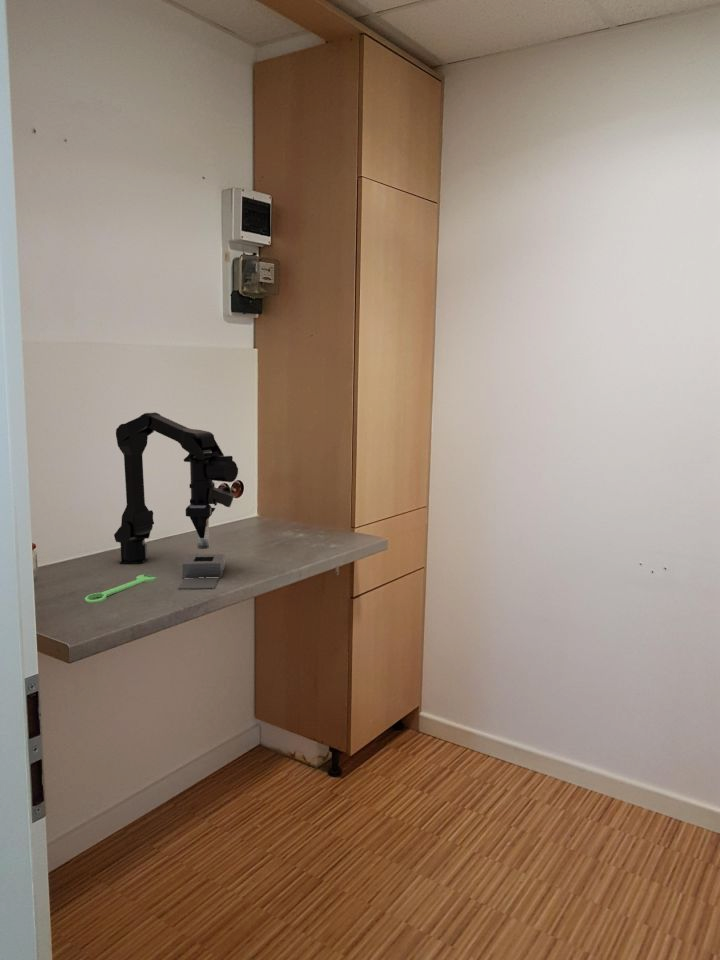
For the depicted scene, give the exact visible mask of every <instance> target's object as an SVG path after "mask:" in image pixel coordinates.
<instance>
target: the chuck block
mask: <svg viewBox="0 0 720 960" xmlns="http://www.w3.org/2000/svg"><path fill="white" fill-rule="evenodd" d="M181 565H182V566H181V567H182V579H183V578H193V579H194V578H199V577H204V578H206V577H221V575H222V576H223V574H224V572H223V570H224V571H225V569H224V568H226V566H225V554H221V553H220V554H218V553H217V554H187V556H186V557H185V559H184V560H183V562H182V564H181ZM222 573H223V574H222ZM221 578H222V577H221Z"/></svg>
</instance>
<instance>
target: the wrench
mask: <svg viewBox="0 0 720 960" xmlns="http://www.w3.org/2000/svg"><path fill="white" fill-rule="evenodd" d="M150 576H151V577H150ZM156 579H157V576H152V575H151V574H139V575H137V576H136V577H135V579H134V580H132V581H129V582H127V583H124V584H121V585H118V586H116V587H113V588H111V589H107V590H105V591H102V592H95V593H91V594H88V595H87V596H86V597H84V601H85V603H88V604H89V603H90V604H97V603H102V602H105V601H107V597H109V596H111V595H114V594H117V593H120V592H123V591H124V590H128V589H130V588H133V587H136V586H137V584H138V585H141V584H142V582H143V583H149V581H151V582H155V581H156ZM154 580H155V581H154Z"/></svg>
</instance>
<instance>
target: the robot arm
mask: <svg viewBox="0 0 720 960" xmlns="http://www.w3.org/2000/svg"><path fill="white" fill-rule="evenodd" d="M154 432H156V433H158V434H160V435H162V436H165V437H166V438H169V439H171V440H173V441H175V442H176V443H178V444H179V445H180V446H181V448H182V449H183V450H184V451H186V452H187V453H188V455H187V456H186V457H185V458H184V459H183V462H184V463H189V465H190V468H189V469H190V483H189V489H190V499H189V505H188V506H187V507H186V508H185V517H189V518H190V521H191V522H192V524H193V526H194V528H195V530H196V534H197V533H198V535H199V537H200V538H204V536H205V530H206V523H207V519H208V518H209V519H210V518H211V516H212V515H213V513H214V512H215V510H216V507H215V506H218V504H219V505H223V506H224V507H226V508H231V506H232V503H233V500H234V497H235V494H234V492H232V488H231V487H230V486H227V485H225V486H224V487H223V488H217V487H215V486H216V485H215V482H226V483H233V482H234V481H235V480H236V479H237V477H238V474H239V467H238V464H237V463H236V461H234V460H233V459H234V458H233V456H232V455H225V454H224V453H223V451H222V449H221V448H220V446H219V445H218V444H219V443H217V441H216V440H215V439H216V438H215V435H214V433H212V432H210V431H207V430H202V429H197V428H196V429H194V428H190V427H189V428H188V427H187V426H185V425H182V424H180V423H178V422H176V421H174V420H172V419H169V418H167V417H165V416H163V415H161V414H160V413H157V412H156V411H154V412H145V413H143V414H141V415H140V416H138V417H136V418H134V419H132V420H130V421H127V422H125V423H121V424H119V425H118V427H117V428H116V429H115V437H116V443H117V447H118V448H119V450H120V452H121V453H122V454H123V460H124V462H123V463H124V464H123V465H124V478H125V479H124V481H125V495H126V497H125V498H126V499H125V500H126V506H125V508H124V511H123V512H122V515H121V521H120V522H121V524H120V526H119V528H118V529H117V530H116V531H115V533H114V534H113V536H114V541H115V542H116V543H119V544H120V560H119V564H120V565H121V564H143V563H144V562H145V561H146V559H148V543H146V542H145V541H146V540H145V539H150V535H151V531H152V530H153V527H154V526H153V525H155V522H154V512H153V510H149V509H148V507H147V505H146V500H145V499H146V498H145V485H144V484H145V483H144V482H145V481H144V465H143V464H144V463H143V461H144V460H143V454H144V452H145V449H146V447H147V445H148V438H149V436H150V435H152V434H153V433H154ZM214 481H215V482H214ZM211 505H214V507H212V506H211Z"/></svg>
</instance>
